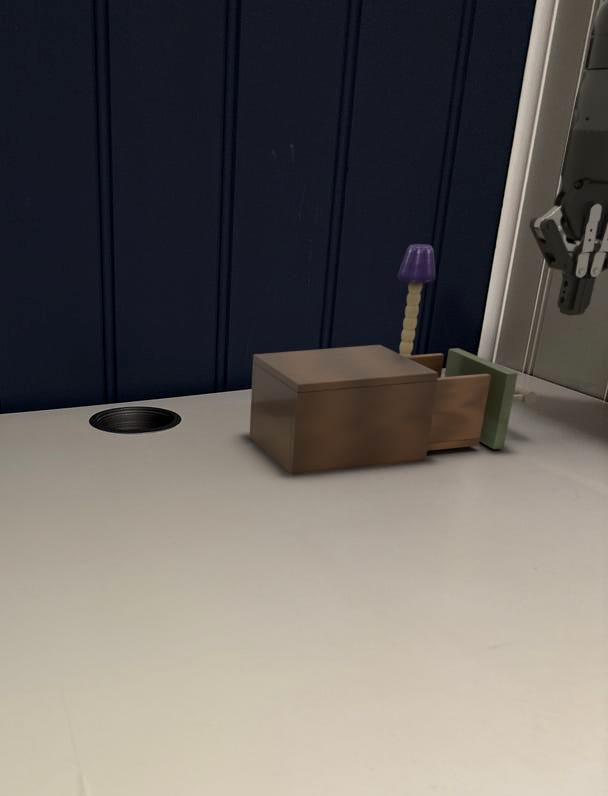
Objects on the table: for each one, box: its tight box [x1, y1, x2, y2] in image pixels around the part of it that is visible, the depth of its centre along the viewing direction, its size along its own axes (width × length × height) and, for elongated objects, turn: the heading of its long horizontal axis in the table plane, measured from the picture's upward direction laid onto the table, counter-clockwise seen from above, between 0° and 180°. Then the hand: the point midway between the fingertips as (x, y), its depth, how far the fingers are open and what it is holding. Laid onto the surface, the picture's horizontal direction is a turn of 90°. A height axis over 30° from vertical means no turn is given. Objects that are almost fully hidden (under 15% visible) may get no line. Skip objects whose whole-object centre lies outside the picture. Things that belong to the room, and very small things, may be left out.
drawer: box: [404, 347, 537, 452], centre depth 99 cm, size 18×11×8 cm, turn 103°
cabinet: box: [249, 344, 438, 476], centre depth 97 cm, size 15×13×10 cm
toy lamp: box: [397, 243, 436, 356], centre depth 121 cm, size 5×5×17 cm
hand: (571, 313), depth 97 cm, fingers closed
